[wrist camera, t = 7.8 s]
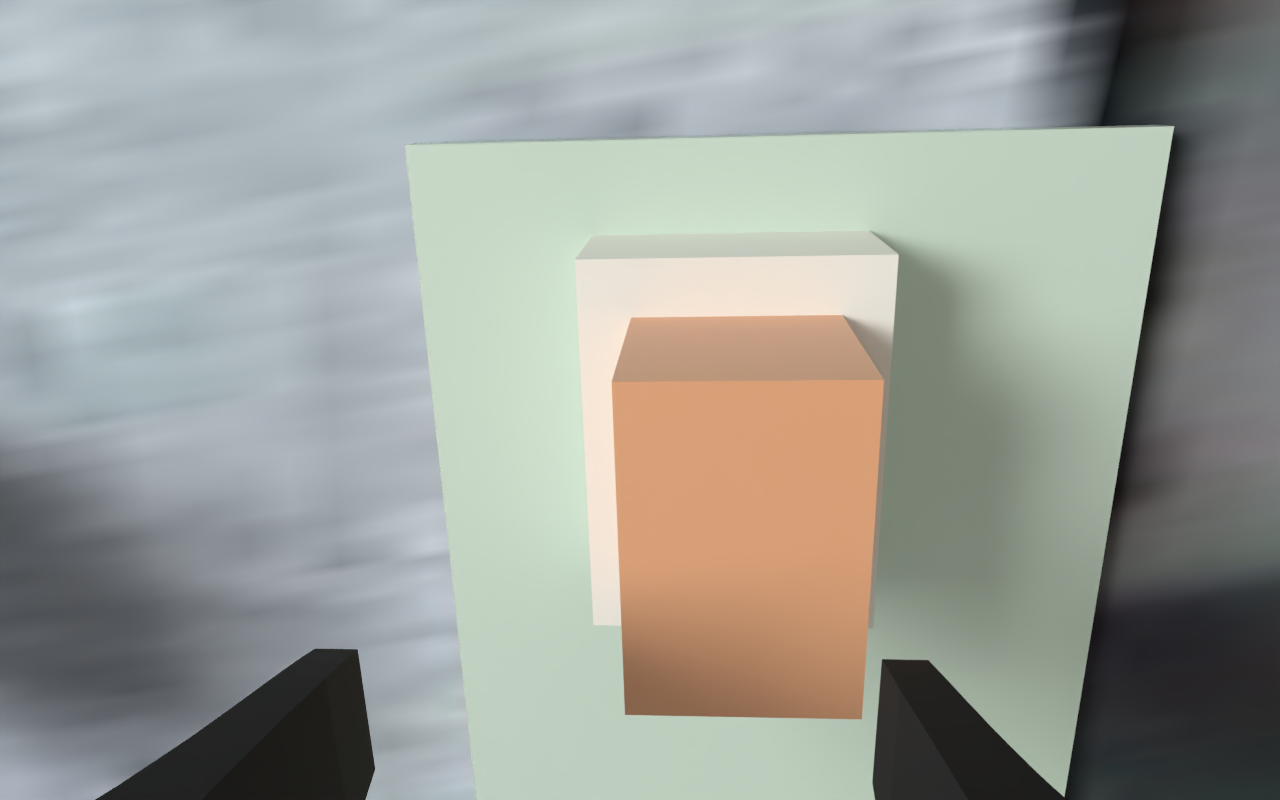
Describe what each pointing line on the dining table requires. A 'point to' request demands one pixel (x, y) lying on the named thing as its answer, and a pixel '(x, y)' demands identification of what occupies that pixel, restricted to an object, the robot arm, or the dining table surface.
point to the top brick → (745, 514)
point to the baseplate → (915, 439)
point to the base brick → (706, 287)
